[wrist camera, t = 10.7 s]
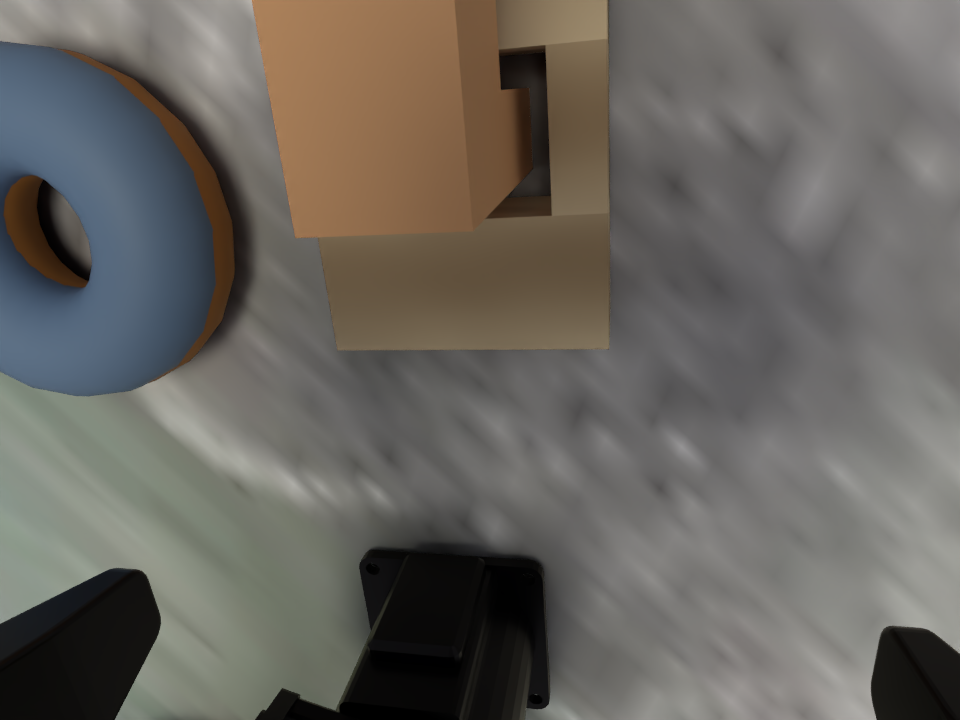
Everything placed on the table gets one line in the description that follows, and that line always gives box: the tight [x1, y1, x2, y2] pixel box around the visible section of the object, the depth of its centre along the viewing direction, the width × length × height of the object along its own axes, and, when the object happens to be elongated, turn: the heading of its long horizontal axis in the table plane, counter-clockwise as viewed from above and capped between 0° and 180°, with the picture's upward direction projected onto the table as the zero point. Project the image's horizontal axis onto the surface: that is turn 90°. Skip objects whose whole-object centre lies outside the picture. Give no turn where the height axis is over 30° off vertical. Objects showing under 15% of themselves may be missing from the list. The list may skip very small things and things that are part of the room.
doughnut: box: [0, 41, 235, 396], centre depth 19 cm, size 10×10×5 cm
